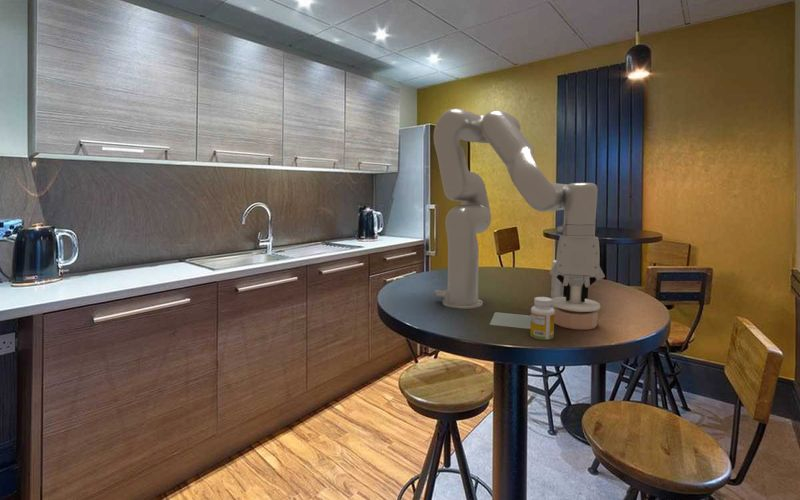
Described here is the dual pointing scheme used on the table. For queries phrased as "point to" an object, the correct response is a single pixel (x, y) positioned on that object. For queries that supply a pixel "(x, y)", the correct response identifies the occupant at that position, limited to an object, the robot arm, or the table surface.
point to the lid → (575, 301)
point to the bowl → (575, 319)
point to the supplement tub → (559, 287)
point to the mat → (511, 320)
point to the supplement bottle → (542, 318)
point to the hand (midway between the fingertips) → (575, 299)
